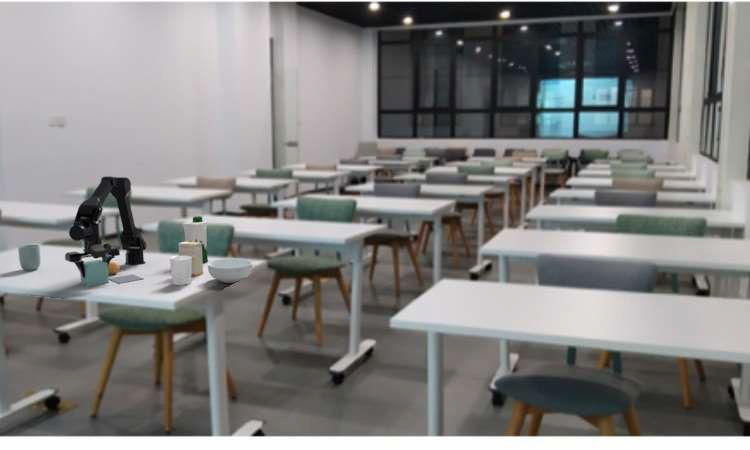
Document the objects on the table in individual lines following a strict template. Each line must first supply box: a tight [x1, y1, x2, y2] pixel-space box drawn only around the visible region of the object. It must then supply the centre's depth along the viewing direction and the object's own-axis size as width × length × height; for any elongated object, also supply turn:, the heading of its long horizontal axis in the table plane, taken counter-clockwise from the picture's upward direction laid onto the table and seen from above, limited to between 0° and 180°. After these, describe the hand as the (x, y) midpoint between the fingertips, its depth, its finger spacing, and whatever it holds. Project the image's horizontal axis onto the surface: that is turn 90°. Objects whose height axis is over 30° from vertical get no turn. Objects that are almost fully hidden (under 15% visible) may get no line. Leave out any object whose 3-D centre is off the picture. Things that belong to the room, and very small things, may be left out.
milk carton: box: [181, 215, 209, 264], centre depth 286 cm, size 9×9×20 cm
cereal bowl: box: [207, 258, 253, 284], centre depth 256 cm, size 17×17×7 cm
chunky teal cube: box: [79, 259, 110, 287], centre depth 252 cm, size 8×8×8 cm
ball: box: [108, 261, 121, 275], centre depth 266 cm, size 5×5×5 cm
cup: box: [17, 244, 42, 272], centre depth 273 cm, size 8×8×10 cm
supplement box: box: [178, 240, 204, 277], centre depth 266 cm, size 8×5×13 cm, turn 71°
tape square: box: [108, 273, 144, 284], centre depth 258 cm, size 10×10×1 cm
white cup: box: [169, 255, 192, 286], centre depth 251 cm, size 8×8×10 cm
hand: (94, 276), depth 252 cm, fingers closed on chunky teal cube, 8 cm apart
